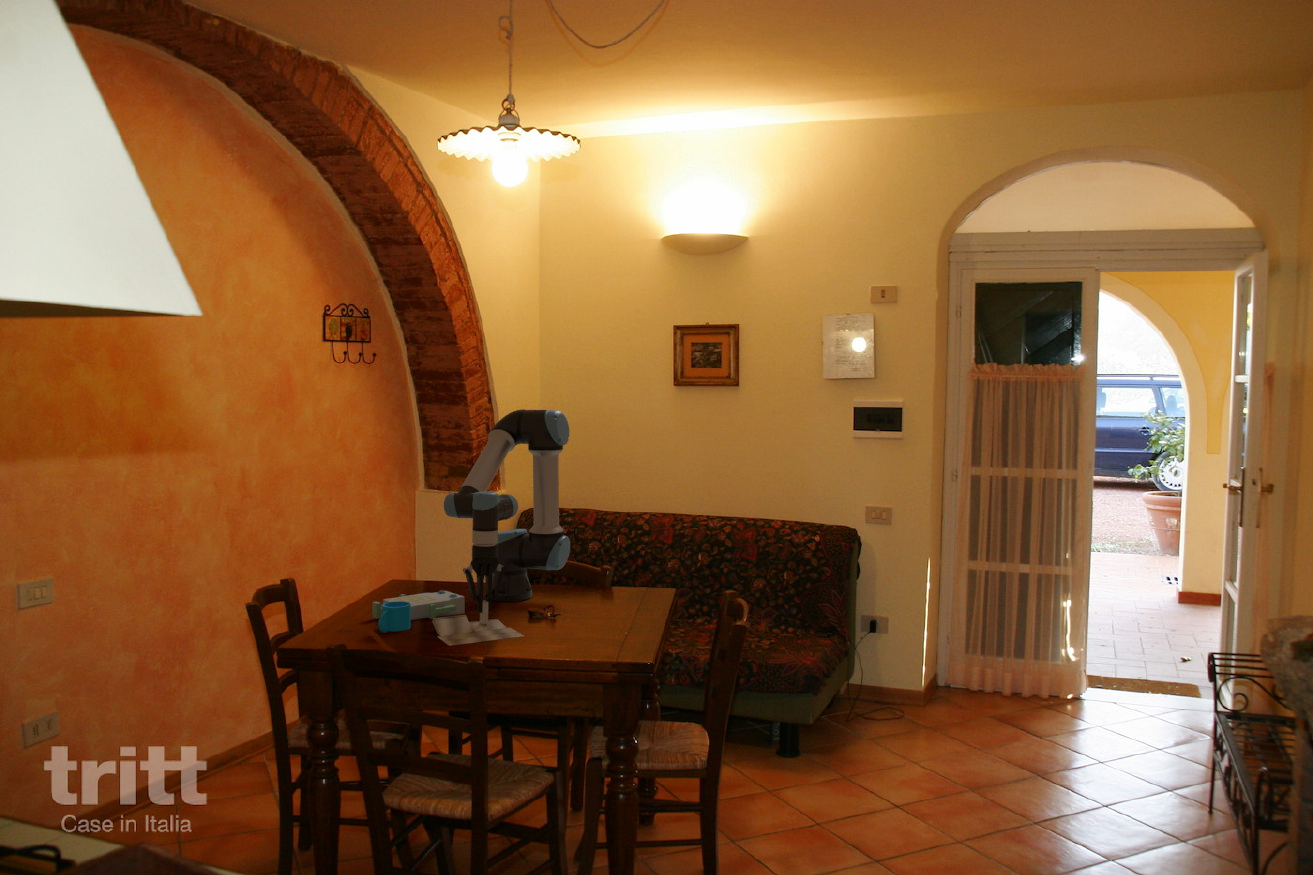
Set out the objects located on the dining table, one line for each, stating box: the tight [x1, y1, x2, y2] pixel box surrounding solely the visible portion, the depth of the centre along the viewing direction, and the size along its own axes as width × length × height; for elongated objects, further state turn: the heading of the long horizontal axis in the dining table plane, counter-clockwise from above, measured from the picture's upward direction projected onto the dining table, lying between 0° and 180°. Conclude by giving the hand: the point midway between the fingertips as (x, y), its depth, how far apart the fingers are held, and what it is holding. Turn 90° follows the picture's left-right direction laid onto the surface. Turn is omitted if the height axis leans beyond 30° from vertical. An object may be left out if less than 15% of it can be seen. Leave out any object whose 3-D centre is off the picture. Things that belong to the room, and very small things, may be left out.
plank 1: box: [432, 614, 475, 636], centre depth 272 cm, size 10×8×1 cm
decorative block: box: [371, 589, 466, 621], centre depth 295 cm, size 26×6×20 cm
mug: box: [378, 601, 412, 634], centre depth 273 cm, size 12×8×8 cm
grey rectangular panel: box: [469, 618, 508, 632], centre depth 278 cm, size 10×8×1 cm
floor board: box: [437, 627, 525, 646], centre depth 267 cm, size 22×11×1 cm, turn 120°
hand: (483, 622), depth 279 cm, fingers closed
